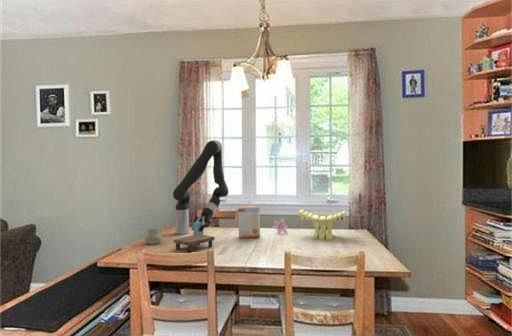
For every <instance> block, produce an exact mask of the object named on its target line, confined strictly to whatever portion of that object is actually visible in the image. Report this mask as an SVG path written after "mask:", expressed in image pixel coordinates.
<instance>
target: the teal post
mask: <svg viewBox="0 0 512 336" xmlns="http://www.w3.org/2000/svg"><path fill="white" fill-rule="evenodd" d="M193 222H194V221H193ZM193 222H192V227H193V230H192V231H193V235H197V234H201V235H204V230H203V231H202V232H200V231H199V229H200V227H201V226H202V222H199V221H198V222H194V223H193Z"/></svg>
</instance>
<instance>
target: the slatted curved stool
mask: <svg viewBox="0 0 512 336" xmlns="http://www.w3.org/2000/svg"><path fill="white" fill-rule="evenodd" d="M297 213H298V217H300V221H304V220H309V221H311V222H312V223H313V225H314V230H315V231H314V233H313V235H312V237H311V240H330V241H332V240H333V237H334V235H333V224H334V223H335V222H337V221H343V222H347V210H346V209H344V210H343V211H340V212H338V213H335V214H331V215H330V214H329V215H319V214H313V213H312V212H309V211H307V210H306V211H305V209H303V208H300V209H299V210H298V212H297Z"/></svg>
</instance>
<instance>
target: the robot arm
mask: <svg viewBox="0 0 512 336" xmlns="http://www.w3.org/2000/svg"><path fill="white" fill-rule="evenodd" d="M212 157H213V167H212V172H213V179H214V183H215V184H217V185H218V186H217V187H215V189H213V192H212V194H211V198H209V201H208V202H207V203H206V204H205V206H204V208H203V209H202V210H201V214H200V216H197V215H196V216H195V218H194V220H193V221H192V224H193V223H194V222H202V226H201V227H200V229H199V231H200V232H202V231H203V232H204V229H205V228H208V227H209V226H210V224H211V223H212V222H213V218H212V217H213V216H214V215H215V212H216V211H217V208H218V207H219V206H220V204H221V199H220V198H224V197H228V195H229V188H228V185H227V183H226V180H225V174H224V168H223V167H224V166H223V146H222V142H220V140H217V139H216V140H215V139H214V140H213V139H212V140H209V141H207V143H206V144H205V146H204V147H203V149H202V152H201V153H200V155H199V156H198V158H197V159H196V160H195V161H194V163H193V164H192V165H191V167H190V168H189V170H188V171H187V173H186V174H185V176H184V177H183V179H182V180H181V181H180V183H179V184H178V185H177V186H176V187H175V188H174V190H173V193H172V196H173V199H174V200H176V201H177V204H176V205H175V220H174V233H175V234H177V235H188V234H190V229H189V228H190V224H189V223H190V216H189V215H190V214H189V207H190V203H191V202H190V201H191V200H190V198H191V195H190V194H191V193H190V187H192V185H194V184H195V183H196V182H197V181H199V179H200V178H201V177H202V175H203V174H204V173H205V171H206V169H207V166H208V163H209V161H210V160H211V159H212ZM191 230H192V231H193V226H192V228H191Z"/></svg>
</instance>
